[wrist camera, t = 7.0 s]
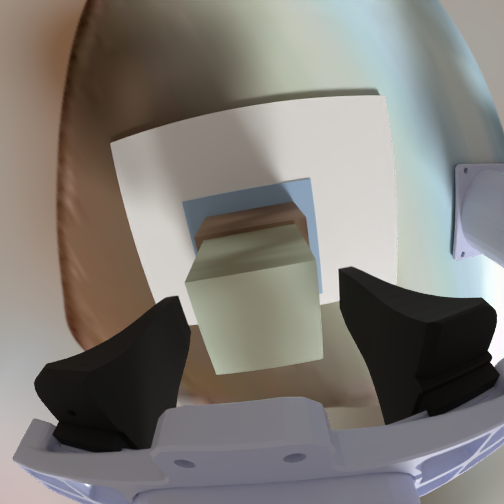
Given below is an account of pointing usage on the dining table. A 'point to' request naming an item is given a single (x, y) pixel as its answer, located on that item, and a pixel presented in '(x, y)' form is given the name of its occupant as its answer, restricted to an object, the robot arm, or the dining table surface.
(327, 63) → the dining table surface
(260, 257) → the sage block
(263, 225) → the walnut base
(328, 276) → the board
